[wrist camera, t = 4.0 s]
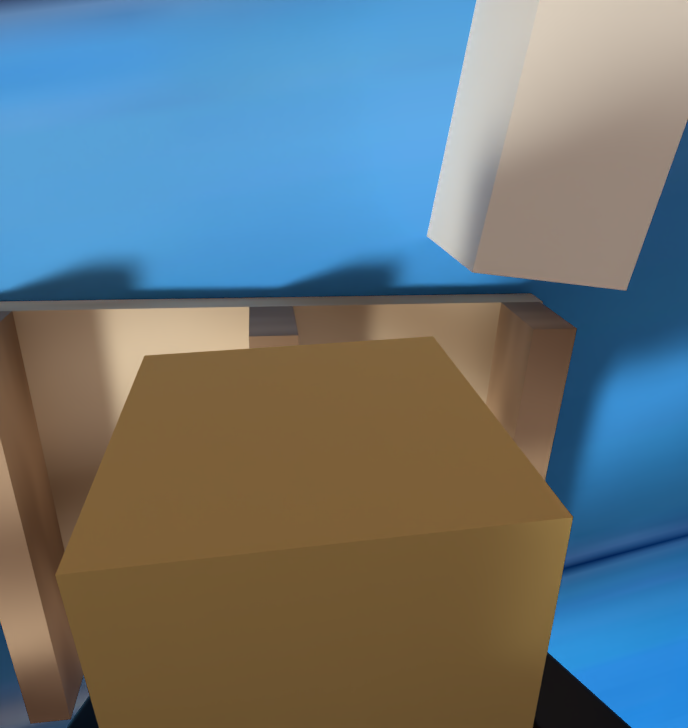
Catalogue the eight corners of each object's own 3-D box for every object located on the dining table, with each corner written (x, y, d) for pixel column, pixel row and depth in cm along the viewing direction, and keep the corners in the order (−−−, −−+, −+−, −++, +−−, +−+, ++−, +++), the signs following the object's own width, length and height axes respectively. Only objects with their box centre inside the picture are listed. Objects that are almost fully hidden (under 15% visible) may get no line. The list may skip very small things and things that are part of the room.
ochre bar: (411, 707, 12) (484, 977, 8) (208, 738, 11) (189, 1043, 8) (433, 336, 8) (574, 516, 5) (144, 355, 8) (55, 575, 4)
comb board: (478, 603, 23) (507, 670, 21) (56, 643, 21) (27, 724, 18) (531, 293, 18) (580, 328, 15) (-28, 301, 16) (-87, 344, 13)
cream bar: (550, 250, 18) (626, 290, 14) (425, 234, 17) (471, 272, 13) (643, -63, 15) (771, -115, 11) (495, -101, 14) (581, -170, 10)
